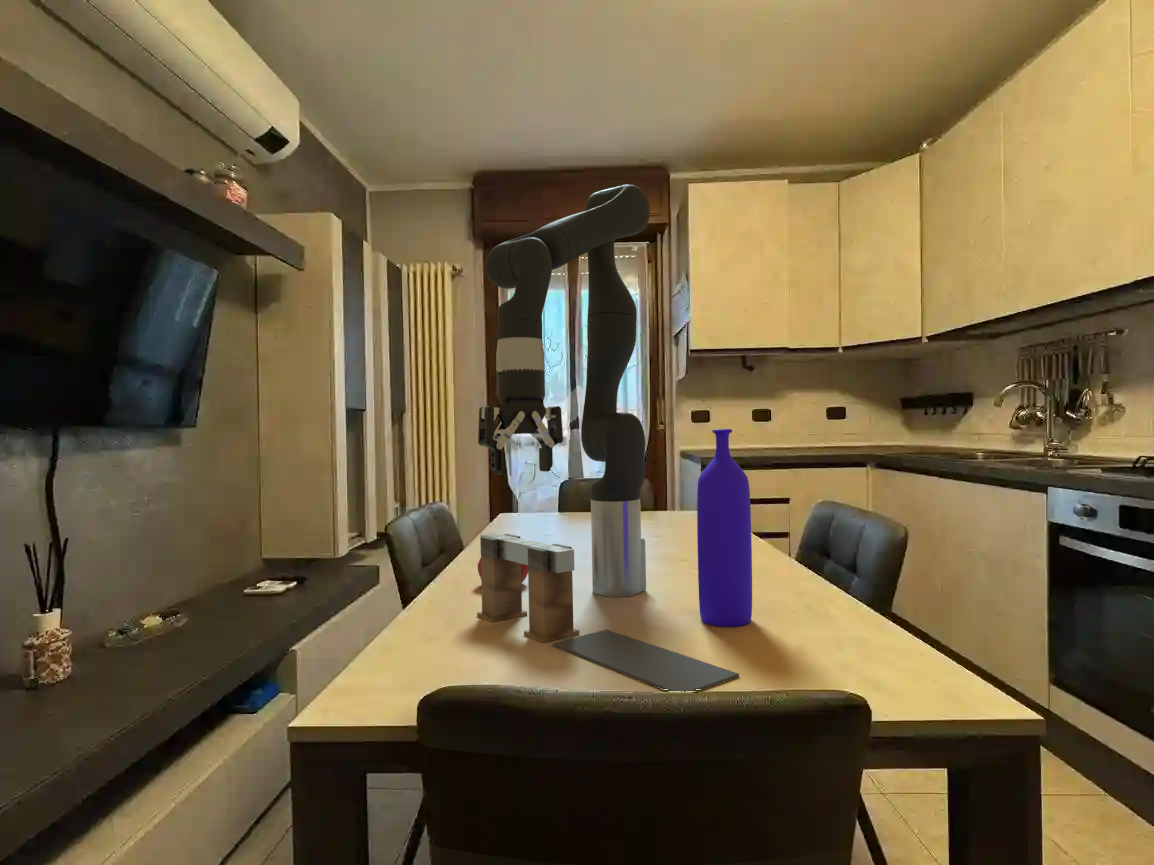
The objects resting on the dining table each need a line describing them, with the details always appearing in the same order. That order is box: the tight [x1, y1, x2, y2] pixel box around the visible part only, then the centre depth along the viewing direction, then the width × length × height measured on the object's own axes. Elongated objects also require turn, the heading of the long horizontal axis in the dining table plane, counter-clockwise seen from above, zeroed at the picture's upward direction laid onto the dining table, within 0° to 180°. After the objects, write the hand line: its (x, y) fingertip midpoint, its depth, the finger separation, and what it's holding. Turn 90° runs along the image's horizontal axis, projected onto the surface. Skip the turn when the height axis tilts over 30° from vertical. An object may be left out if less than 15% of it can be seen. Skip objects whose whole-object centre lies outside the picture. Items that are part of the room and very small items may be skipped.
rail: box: [479, 532, 575, 573], centre depth 111 cm, size 3×22×3 cm, turn 38°
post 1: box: [476, 533, 528, 623], centre depth 116 cm, size 6×5×13 cm
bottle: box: [696, 428, 753, 628], centre depth 111 cm, size 8×8×30 cm
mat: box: [552, 629, 740, 692], centre depth 93 cm, size 10×25×1 cm, turn 38°
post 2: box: [523, 543, 580, 644], centre depth 105 cm, size 6×5×13 cm
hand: (522, 472), depth 111 cm, fingers open, 8 cm apart
